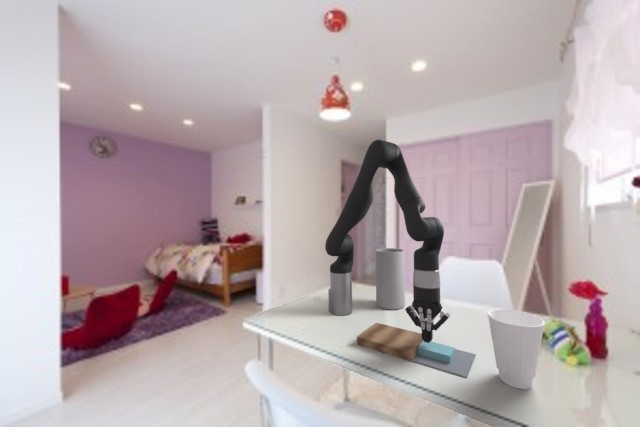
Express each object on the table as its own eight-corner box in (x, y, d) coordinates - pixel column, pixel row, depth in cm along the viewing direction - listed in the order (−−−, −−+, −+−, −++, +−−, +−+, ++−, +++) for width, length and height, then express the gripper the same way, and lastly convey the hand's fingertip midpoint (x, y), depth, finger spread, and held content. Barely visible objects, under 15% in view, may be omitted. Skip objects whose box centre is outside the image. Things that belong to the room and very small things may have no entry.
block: (357, 344, 92) (356, 336, 92) (376, 329, 103) (376, 322, 103) (412, 361, 81) (412, 352, 81) (427, 342, 92) (427, 334, 92)
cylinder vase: (372, 307, 126) (371, 251, 126) (381, 299, 137) (381, 247, 137) (400, 312, 120) (399, 253, 120) (408, 303, 130) (407, 249, 130)
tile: (417, 354, 85) (417, 347, 85) (424, 346, 90) (423, 339, 90) (450, 363, 79) (450, 356, 79) (455, 354, 84) (455, 347, 84)
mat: (412, 361, 81) (412, 360, 81) (427, 342, 92) (427, 341, 92) (466, 378, 73) (466, 377, 73) (475, 355, 84) (475, 354, 84)
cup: (497, 362, 80) (496, 305, 80) (550, 381, 71) (550, 317, 71) (480, 379, 72) (480, 316, 72) (538, 402, 63) (538, 331, 63)
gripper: (400, 283, 86) (401, 340, 86) (446, 290, 78) (447, 353, 78) (409, 278, 92) (409, 331, 92) (453, 284, 84) (454, 342, 84)
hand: (427, 341), depth 85 cm, fingers closed
